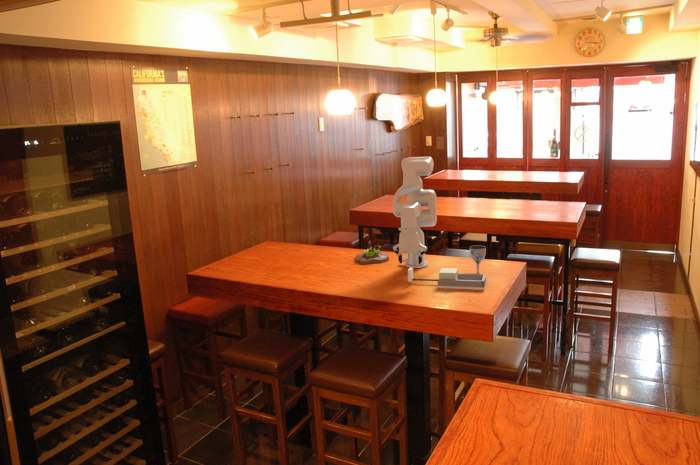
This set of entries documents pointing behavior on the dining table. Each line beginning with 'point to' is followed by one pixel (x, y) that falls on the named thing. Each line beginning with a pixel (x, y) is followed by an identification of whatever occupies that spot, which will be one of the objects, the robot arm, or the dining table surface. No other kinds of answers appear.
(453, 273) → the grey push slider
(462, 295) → the dining table surface
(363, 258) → the plant
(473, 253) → the wine glass
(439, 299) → the dining table surface
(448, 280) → the lane tray
